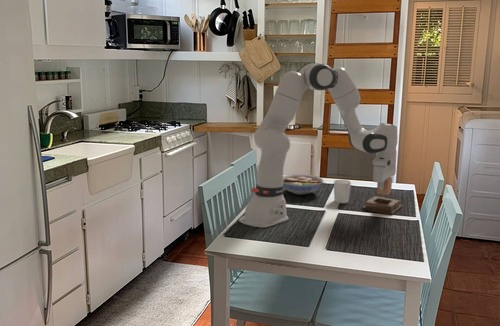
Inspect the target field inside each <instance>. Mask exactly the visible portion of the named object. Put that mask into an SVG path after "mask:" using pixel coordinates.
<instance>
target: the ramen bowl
mask: <svg viewBox="0 0 500 326" xmlns="http://www.w3.org/2000/svg"><path fill="white" fill-rule="evenodd" d="M324 181H325V180H324V179H323V177H320V176H316V175H312V174H303V173H302V174H301V173H297V174H296V173H294V174H286V175H285V174H284V175H283V185H284V190H286V191H288V192H290V193H293V194H294V195H298V196H305V195H308V194H311V193H314V192H316V191H317V190H318V189H319V188H320V187H321V186H322V185H323V184H324Z"/></svg>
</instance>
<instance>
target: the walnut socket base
mask: <svg viewBox="0 0 500 326" xmlns="http://www.w3.org/2000/svg"><path fill="white" fill-rule="evenodd" d="M364 204H365V205H363V206H362V207H361V209H362V210H364V211H369V212H375V213H380V214H385V215H390V216H393V215H395V213H397V212H398V211H400V210H401V209H402V208H403V205H402V204H400V200H399V199H394V198H387V197H382V196H376V195H375V196H373V197H371V198H369V199H368V200H366V201H365V202H364Z"/></svg>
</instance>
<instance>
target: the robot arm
mask: <svg viewBox="0 0 500 326" xmlns="http://www.w3.org/2000/svg"><path fill="white" fill-rule="evenodd" d="M308 89H310V90H312V91H326V90H327V91H328V92H329V94H330V96H331V98H332V100H333V102H334V104H335V105H336V106H337V107H336V108H337V109H338V111H339V114H340V116H341V119H342V120H343V124H344V126H345V128H346V130H347V135H348V143H349V145H350V146H351V148H353V150H354V149H355V150H358V151H362V152H363V153H367V154H375V157H374V159H373V160H372V165H373V168H372V169H373V171H372V172H373V173H372V179H373V182H374V183H379V186H380V187H379V189H380V190H384V181H385V180H387V179H389V178H393V176H395V175H396V171H397V165H396V164H397V153H398V152H397V145H398V128H397V126H396V125H394V124H391V123H385V122H381V123H379V124H378V126H376V127H374V128H373V129H371V130H368V129H365V128H364V127H363V126H362V125H361V122H360V120H359V119H358V115H357V113H356V109H357V108H358V106H359V105H360V102H361V95H360V92H359V89H358V88H357V85H356V84H355V81H354V80H353V78H352V77H351V75H350V73H349V72H348V71H347V70H346V68H344V67H340V66H338V67H334V68H333V67H331V66H329V65H328V64H325V63H318V62H312V63H311V62H310V63H306V64H304V65H303V66H301V67H300V68H299V69H298V70H297V71H294V70H291V71H287V72H285V73H284V74H283V77H282V78H281V79H280V81H279V83H278V85H277V87H276V90H275V92H274V95H273V98H272V100H271V103H270V105H269V108H268V111H267V113H266V114H265V115H264V118H263V119H262V121H261V123H260V124H259V126H258V128H256V130H255V131H254V133H253V141H254V143H255V145H256V147H257V148H258V149H260V150H261V153H260V154H261V155H260V160H259V164H258V166H257V184H256V186H255V187H252V188H251V190H250V191H251V192H252V193H254V195H252V198H251V199H250V201H249V202H248V204H247V205H246V206H245V210H244V215H242V216H241V217H240V218H239V220H238V221H239V223H241V224H244V225H247V226H249V227H255V228H256V227H257V228H269V227H272V226H274V225H278V224H280V223H283V222H286V221H289V219H290V218H289V216H288V215H287V202H286V199H285V197H284V194H285V188H284V185H283V176H284V167H285V161H286V157H287V154H288V152H289V150H290V148H291V140H290V139H289V137H288V136H287V134H286V133H285V131H286V129H287V127H289V124H290V123H292V121H293V120H294V118H295V117H296V113H297V111H298V108H299V105H300V103H301V101H302V97H303V95H304V94H305V92H306V91H307V90H308Z"/></svg>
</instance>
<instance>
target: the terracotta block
mask: <svg viewBox="0 0 500 326" xmlns="http://www.w3.org/2000/svg"><path fill="white" fill-rule="evenodd" d="M376 183H377V182H376ZM392 184H393V177H391V178H389V179H387V180H385V181H384V190H380V189H379V187H380V186H379V183H377V184H376V186H377V187H376V194H378V195H384V196H385V195H386V196H388V195H390V194H391V193H392Z"/></svg>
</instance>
